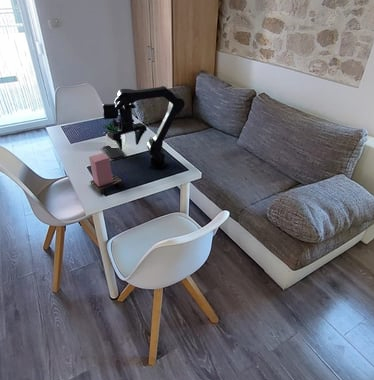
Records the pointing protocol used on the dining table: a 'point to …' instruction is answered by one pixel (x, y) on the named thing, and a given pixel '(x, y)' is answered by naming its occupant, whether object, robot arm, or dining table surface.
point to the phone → (113, 152)
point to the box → (101, 169)
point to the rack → (101, 188)
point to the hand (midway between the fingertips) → (129, 147)
